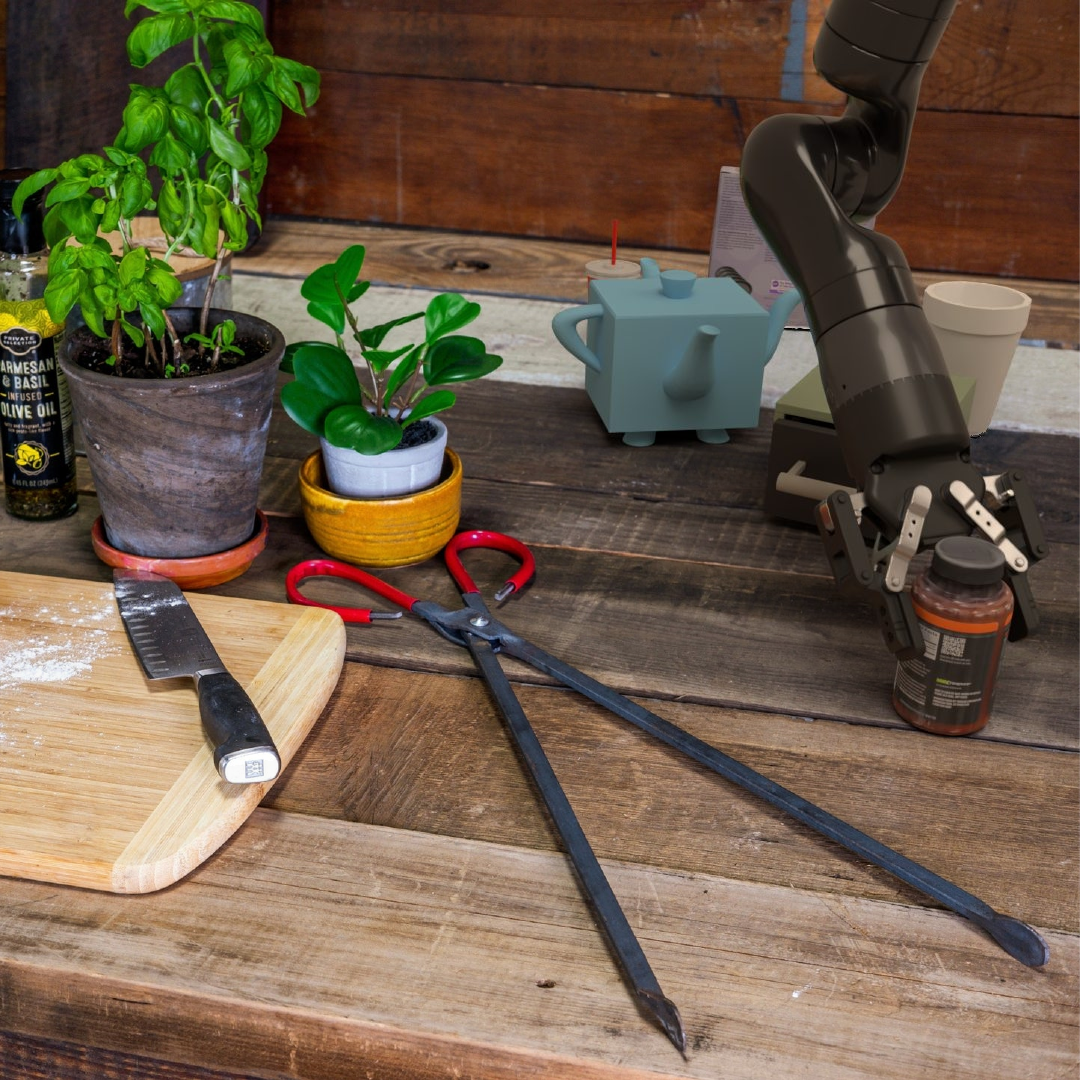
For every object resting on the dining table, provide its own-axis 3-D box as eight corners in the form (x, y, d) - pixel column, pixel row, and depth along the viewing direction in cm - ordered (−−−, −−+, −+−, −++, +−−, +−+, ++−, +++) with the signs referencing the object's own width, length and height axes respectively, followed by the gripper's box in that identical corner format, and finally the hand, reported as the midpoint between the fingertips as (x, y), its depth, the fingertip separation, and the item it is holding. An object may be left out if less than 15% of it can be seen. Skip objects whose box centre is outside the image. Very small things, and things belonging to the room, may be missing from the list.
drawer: (887, 571, 92) (904, 475, 89) (741, 535, 97) (752, 441, 94) (943, 485, 107) (960, 398, 103) (814, 456, 112) (825, 373, 108)
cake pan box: (864, 324, 151) (886, 173, 143) (866, 336, 147) (889, 182, 139) (704, 311, 154) (717, 163, 146) (701, 323, 149) (715, 171, 141)
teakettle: (533, 430, 118) (537, 275, 111) (638, 377, 132) (647, 237, 125) (711, 482, 108) (726, 316, 102) (804, 419, 122) (823, 270, 115)
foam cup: (931, 447, 117) (955, 311, 111) (886, 411, 125) (907, 282, 119) (1023, 441, 118) (1052, 307, 113) (973, 407, 127) (998, 280, 121)
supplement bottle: (961, 682, 81) (994, 524, 76) (1007, 736, 76) (1046, 571, 71) (874, 688, 80) (902, 530, 75) (914, 744, 75) (947, 577, 70)
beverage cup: (616, 358, 137) (623, 229, 131) (570, 346, 140) (575, 220, 134) (646, 344, 142) (655, 219, 135) (602, 333, 145) (608, 211, 139)
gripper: (816, 379, 73) (897, 651, 69) (1020, 359, 78) (1109, 614, 73) (763, 431, 80) (834, 681, 76) (953, 410, 84) (1031, 646, 80)
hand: (969, 648), depth 74 cm, fingers open, 7 cm apart
